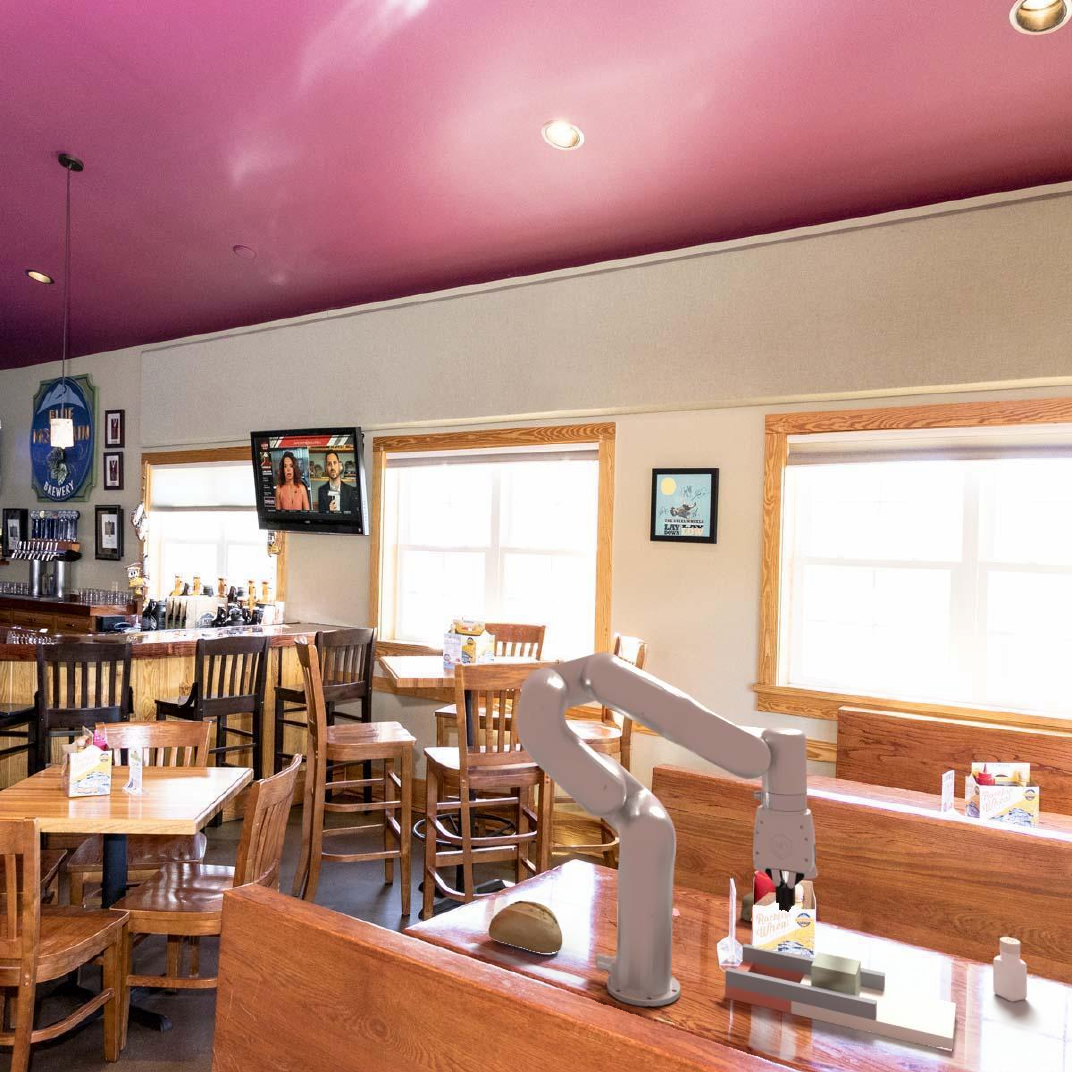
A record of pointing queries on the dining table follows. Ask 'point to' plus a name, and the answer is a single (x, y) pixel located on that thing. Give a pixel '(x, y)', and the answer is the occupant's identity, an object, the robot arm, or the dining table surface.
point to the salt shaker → (1010, 971)
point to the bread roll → (527, 927)
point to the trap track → (839, 999)
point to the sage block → (836, 974)
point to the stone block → (747, 907)
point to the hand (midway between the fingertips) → (785, 908)
